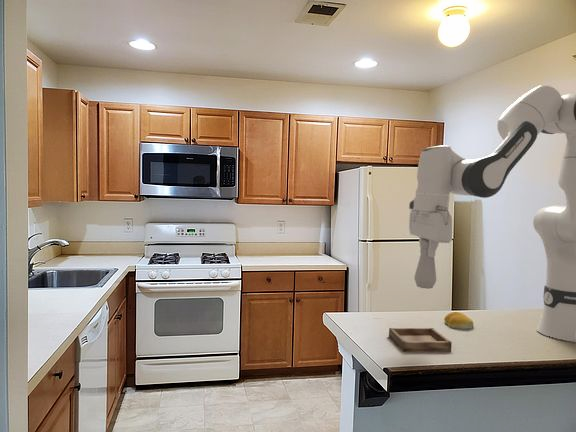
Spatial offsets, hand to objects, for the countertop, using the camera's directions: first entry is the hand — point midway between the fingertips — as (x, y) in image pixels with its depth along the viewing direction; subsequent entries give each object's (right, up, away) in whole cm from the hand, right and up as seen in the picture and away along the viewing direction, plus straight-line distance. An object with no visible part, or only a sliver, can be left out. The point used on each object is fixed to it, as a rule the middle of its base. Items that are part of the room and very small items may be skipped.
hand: (427, 255), depth 125 cm
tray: (-2, -25, +1) cm, 25 cm away
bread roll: (+16, -24, +20) cm, 35 cm away
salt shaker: (-1, -9, +1) cm, 9 cm away
